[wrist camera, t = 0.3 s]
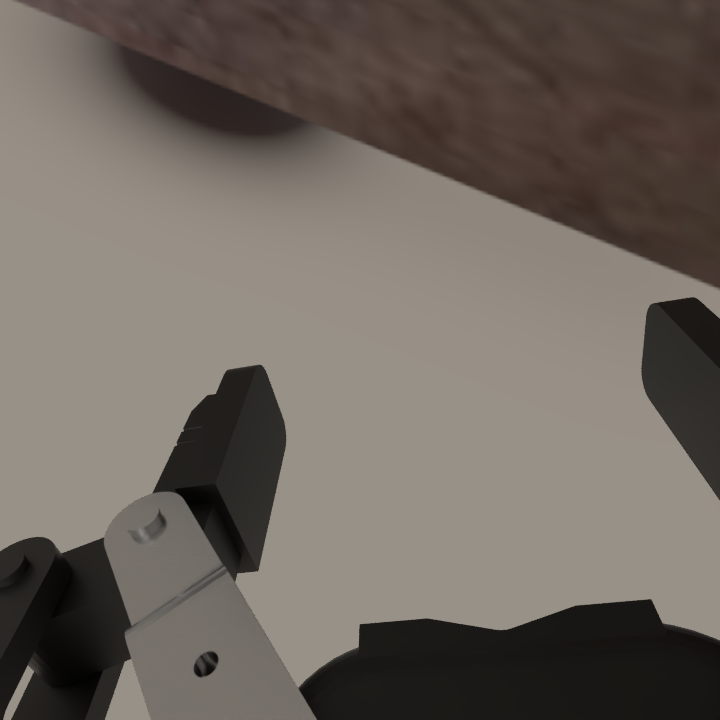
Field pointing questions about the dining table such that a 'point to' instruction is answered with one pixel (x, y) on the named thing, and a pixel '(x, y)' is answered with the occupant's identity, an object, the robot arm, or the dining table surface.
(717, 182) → the dining table surface
